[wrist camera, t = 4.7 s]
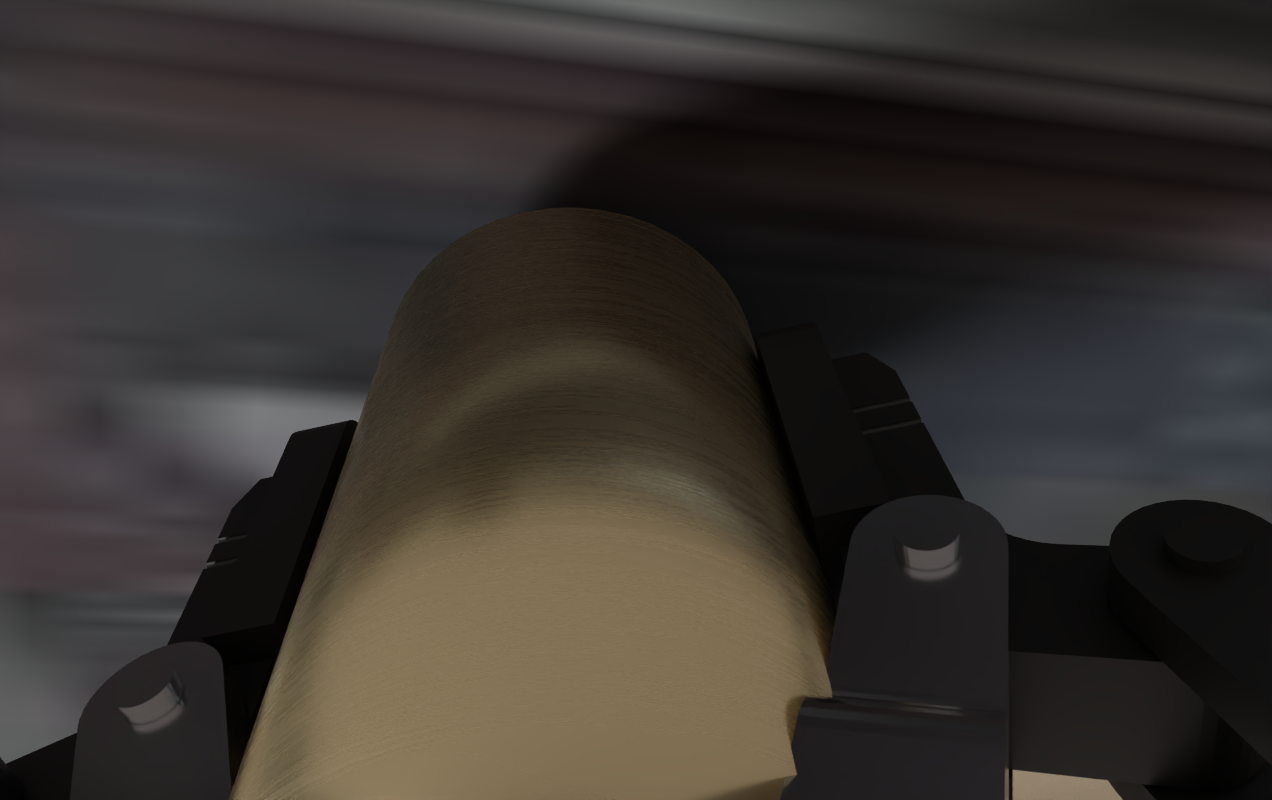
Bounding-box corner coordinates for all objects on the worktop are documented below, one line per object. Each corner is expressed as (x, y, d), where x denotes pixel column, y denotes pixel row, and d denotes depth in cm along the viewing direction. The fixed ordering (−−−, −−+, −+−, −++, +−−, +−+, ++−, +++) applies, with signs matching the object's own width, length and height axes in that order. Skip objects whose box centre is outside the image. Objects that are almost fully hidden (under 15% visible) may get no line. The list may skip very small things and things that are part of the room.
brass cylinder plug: (452, 554, 15) (348, 1186, 8) (328, 255, 12) (31, 822, 6) (778, 488, 15) (948, 1091, 8) (721, 167, 12) (903, 658, 5)
